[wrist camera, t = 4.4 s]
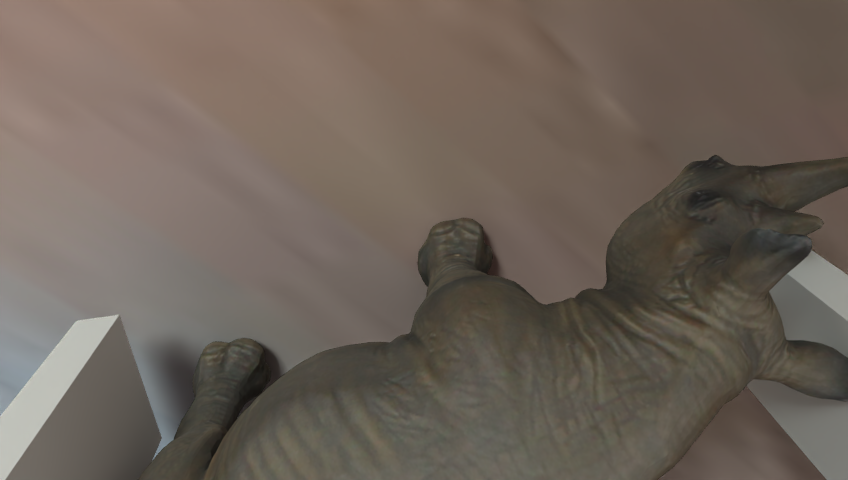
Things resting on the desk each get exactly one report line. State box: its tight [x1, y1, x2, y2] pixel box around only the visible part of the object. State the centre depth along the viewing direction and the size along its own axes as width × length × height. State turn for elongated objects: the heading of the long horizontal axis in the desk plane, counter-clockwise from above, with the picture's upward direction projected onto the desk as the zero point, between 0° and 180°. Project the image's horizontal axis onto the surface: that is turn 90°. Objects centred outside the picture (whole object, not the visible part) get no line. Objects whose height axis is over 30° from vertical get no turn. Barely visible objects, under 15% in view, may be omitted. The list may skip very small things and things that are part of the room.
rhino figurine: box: [138, 155, 848, 480], centre depth 11 cm, size 4×14×6 cm, turn 120°
